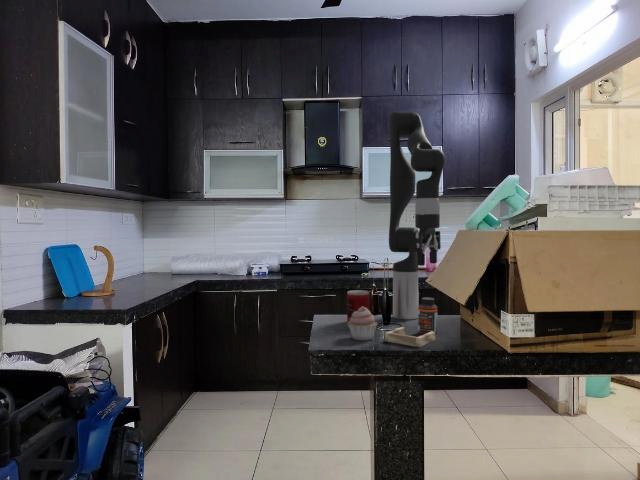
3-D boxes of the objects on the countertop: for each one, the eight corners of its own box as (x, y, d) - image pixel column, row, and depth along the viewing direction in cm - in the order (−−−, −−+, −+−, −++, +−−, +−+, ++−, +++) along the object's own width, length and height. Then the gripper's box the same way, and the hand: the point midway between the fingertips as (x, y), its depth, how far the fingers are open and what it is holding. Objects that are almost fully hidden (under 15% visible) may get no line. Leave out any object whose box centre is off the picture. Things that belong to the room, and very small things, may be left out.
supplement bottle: (416, 335, 158) (416, 299, 158) (419, 330, 164) (419, 296, 163) (435, 336, 156) (436, 300, 156) (438, 332, 162) (438, 297, 161)
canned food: (372, 321, 179) (372, 290, 178) (363, 325, 172) (362, 293, 171) (353, 319, 183) (353, 289, 182) (343, 323, 176) (343, 292, 175)
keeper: (401, 334, 158) (401, 327, 158) (435, 340, 151) (435, 331, 151) (385, 341, 150) (385, 332, 150) (419, 347, 143) (419, 338, 143)
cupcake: (342, 340, 151) (342, 307, 151) (353, 334, 160) (353, 302, 159) (372, 343, 148) (372, 309, 147) (381, 336, 156) (381, 304, 156)
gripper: (426, 213, 166) (426, 262, 167) (405, 213, 155) (405, 265, 156) (448, 213, 162) (447, 263, 162) (428, 212, 150) (428, 266, 151)
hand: (427, 264), depth 159 cm, fingers open, 8 cm apart
